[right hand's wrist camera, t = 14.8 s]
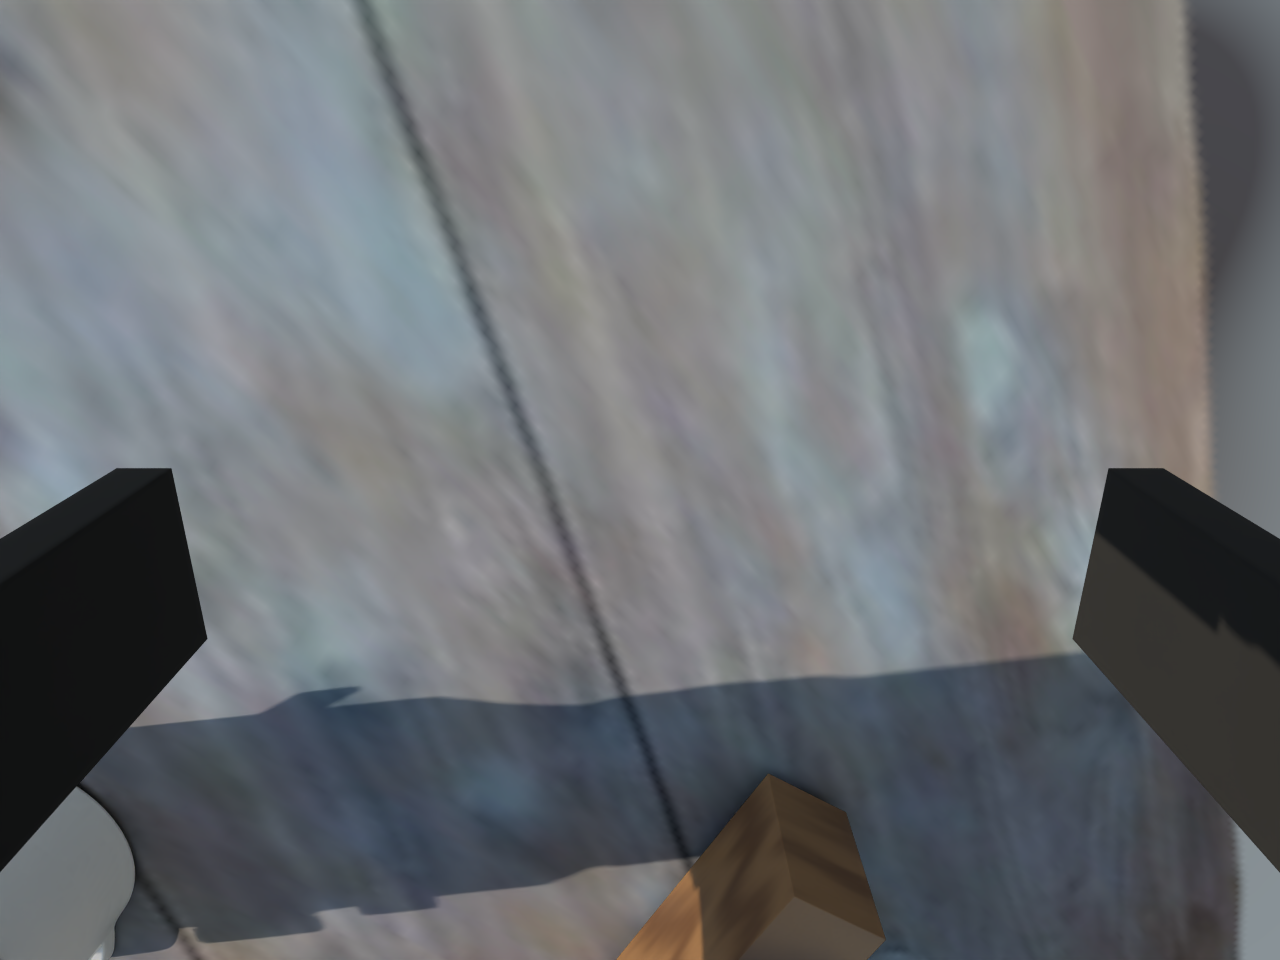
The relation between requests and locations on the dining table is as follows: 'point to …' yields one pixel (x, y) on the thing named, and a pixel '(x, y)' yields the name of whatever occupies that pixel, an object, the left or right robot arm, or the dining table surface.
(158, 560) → the right robot arm
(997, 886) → the dining table surface
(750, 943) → the bar
